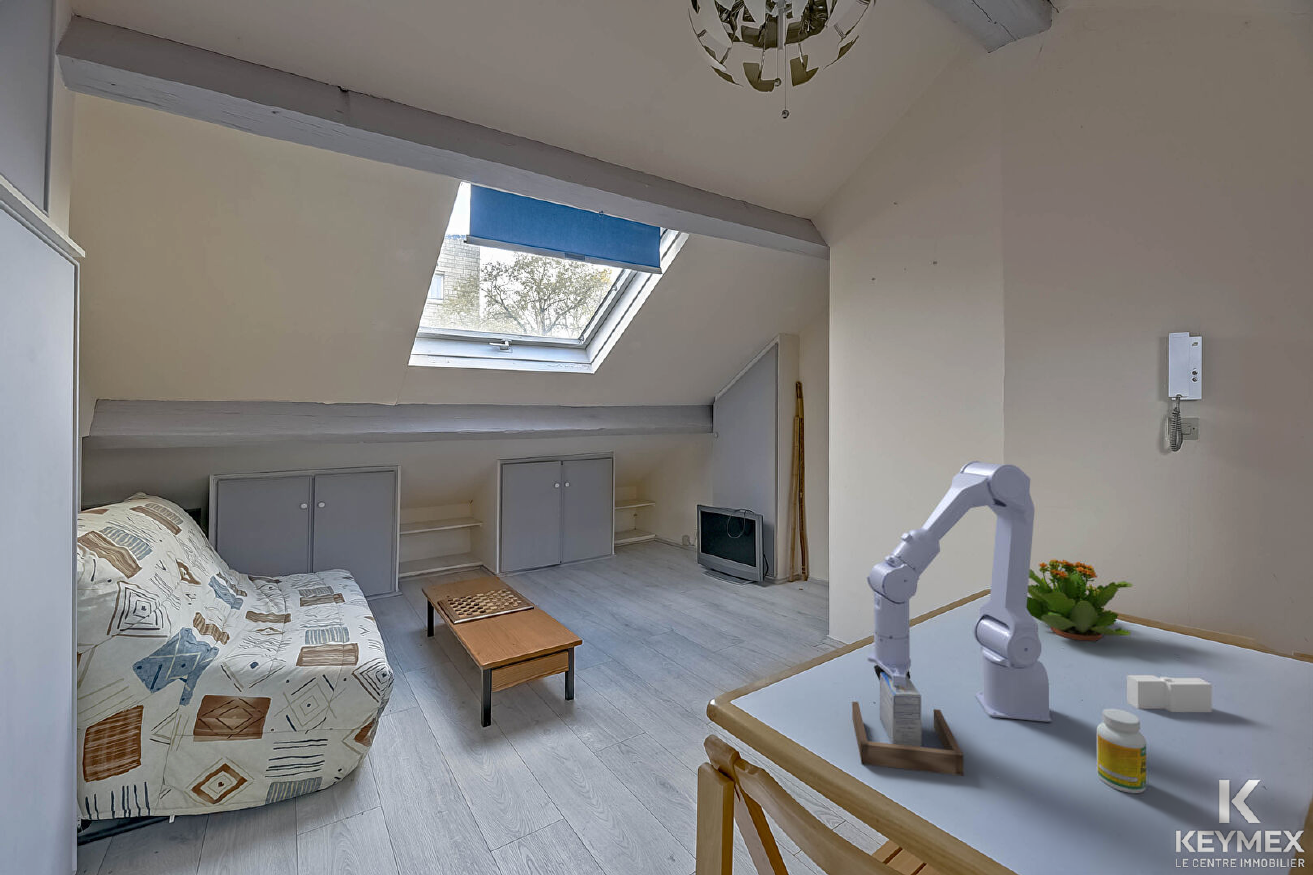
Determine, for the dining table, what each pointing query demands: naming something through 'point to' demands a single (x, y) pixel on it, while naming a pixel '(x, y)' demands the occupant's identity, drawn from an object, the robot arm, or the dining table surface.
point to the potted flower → (1073, 601)
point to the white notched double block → (1169, 693)
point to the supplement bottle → (1121, 751)
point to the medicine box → (900, 711)
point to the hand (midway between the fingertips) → (892, 709)
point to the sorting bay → (911, 749)
